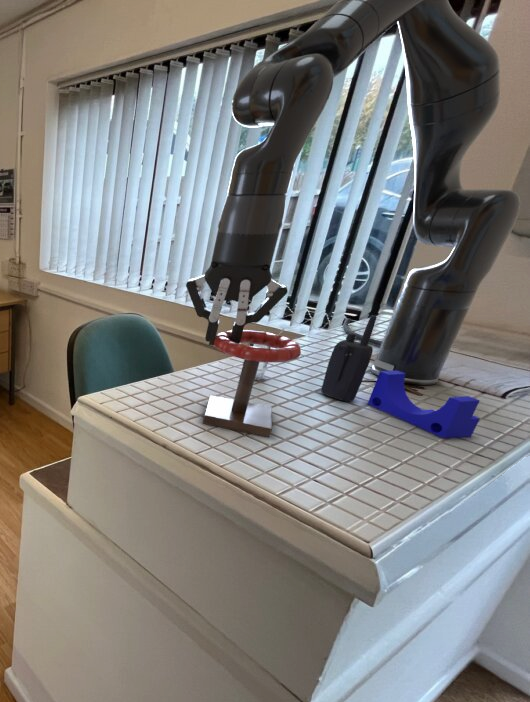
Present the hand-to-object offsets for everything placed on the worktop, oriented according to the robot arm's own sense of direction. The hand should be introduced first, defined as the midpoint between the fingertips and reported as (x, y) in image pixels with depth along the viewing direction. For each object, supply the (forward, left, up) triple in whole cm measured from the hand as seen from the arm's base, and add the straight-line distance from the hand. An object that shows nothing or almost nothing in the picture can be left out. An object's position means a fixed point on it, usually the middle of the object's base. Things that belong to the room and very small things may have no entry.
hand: (221, 345), depth 72 cm
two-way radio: (-18, +19, -12) cm, 28 cm away
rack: (0, +5, -12) cm, 13 cm away
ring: (0, +5, +1) cm, 5 cm away
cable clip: (-14, +29, -12) cm, 34 cm away
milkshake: (-22, +7, -12) cm, 26 cm away
